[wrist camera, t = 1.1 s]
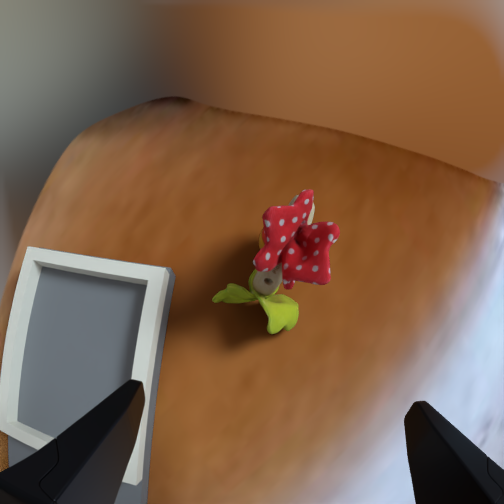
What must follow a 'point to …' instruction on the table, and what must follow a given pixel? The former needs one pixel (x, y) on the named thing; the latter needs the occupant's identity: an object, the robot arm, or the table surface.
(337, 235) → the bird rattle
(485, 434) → the table surface
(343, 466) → the table surface
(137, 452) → the base plate
